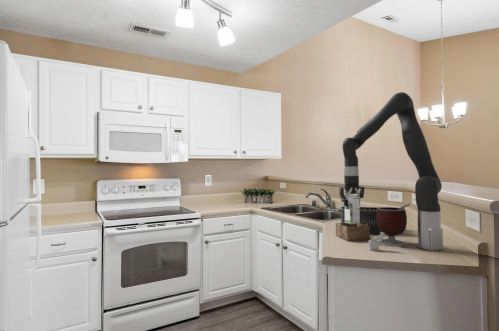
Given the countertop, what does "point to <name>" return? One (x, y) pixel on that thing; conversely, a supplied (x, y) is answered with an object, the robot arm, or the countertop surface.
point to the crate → (353, 231)
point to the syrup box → (352, 210)
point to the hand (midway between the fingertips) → (352, 206)
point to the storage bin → (365, 218)
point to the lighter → (376, 242)
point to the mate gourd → (391, 223)
